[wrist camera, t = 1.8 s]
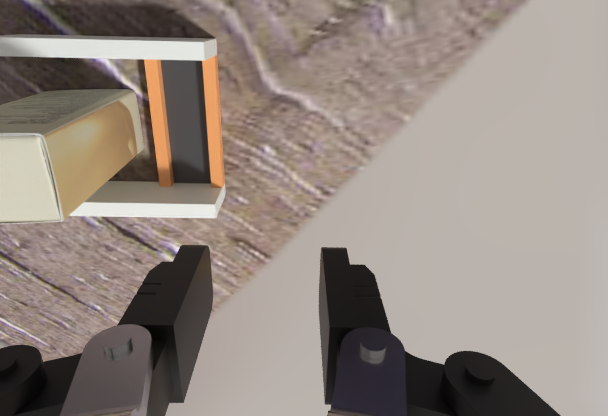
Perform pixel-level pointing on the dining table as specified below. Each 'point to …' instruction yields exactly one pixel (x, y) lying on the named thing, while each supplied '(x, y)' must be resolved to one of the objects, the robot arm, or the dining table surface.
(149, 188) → the twin rod panel frame
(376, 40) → the dining table surface
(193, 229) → the dining table surface
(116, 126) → the skincare box
